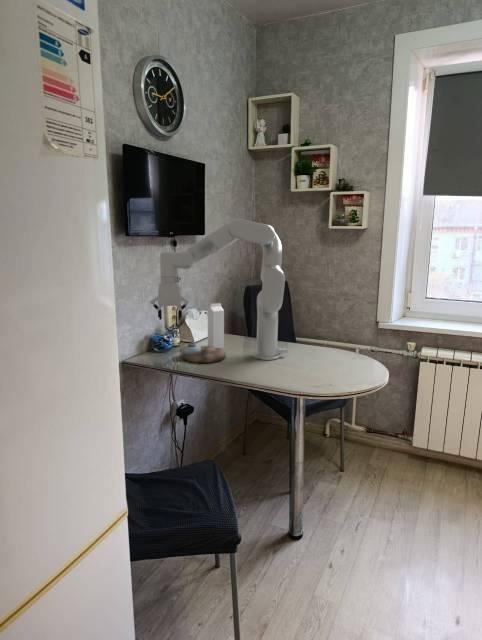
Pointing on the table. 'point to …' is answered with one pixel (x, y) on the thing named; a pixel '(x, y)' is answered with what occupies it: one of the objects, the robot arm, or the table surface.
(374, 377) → the table surface
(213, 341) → the milk
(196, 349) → the cover
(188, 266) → the robot arm
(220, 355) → the turntable
